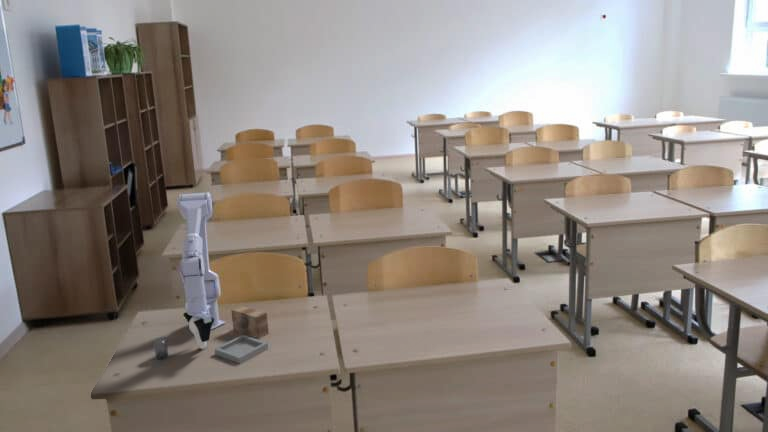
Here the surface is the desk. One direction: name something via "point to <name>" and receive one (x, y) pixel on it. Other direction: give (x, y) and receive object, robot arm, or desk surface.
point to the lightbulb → (196, 332)
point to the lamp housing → (250, 321)
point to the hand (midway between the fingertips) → (201, 337)
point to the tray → (241, 349)
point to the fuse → (161, 349)
